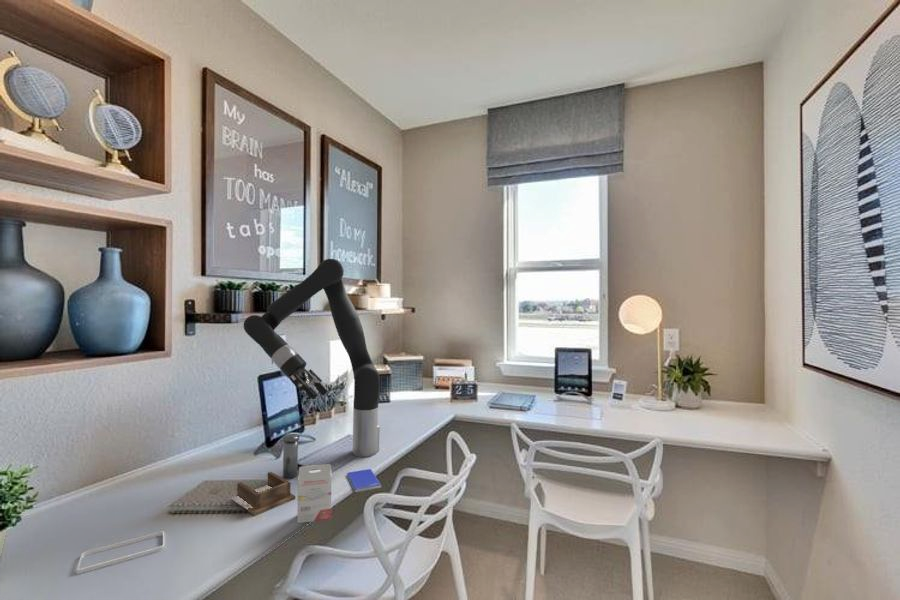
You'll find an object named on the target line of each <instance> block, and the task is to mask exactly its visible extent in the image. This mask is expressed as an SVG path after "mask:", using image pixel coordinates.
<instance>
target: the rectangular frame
mask: <svg viewBox="0 0 900 600" xmlns="http://www.w3.org/2000/svg"><path fill="white" fill-rule="evenodd" d="M160 536H162V545H160V546H156V547H153V548H150V549H147V550H142V551H139V552H135V553H132V554H129V555H125V556H121V557H118V558H114V559H111V560H108V561H103V562H99V563H96V564H93V565H89V566H85V567H82V568H80V567H81V564H82V563H81V562H82V561H83V559H84V557H86V556H89V555H92V554H97V553H101V552H104V551H108V550H111V549H115V548H116V549H117V548H119V547H122V546H127V545H130V544H134V543H137V542H141V541H144V540H148V539H153V538H156V537H160ZM165 539H166V538H165V531H158V532H155V533H151V534H147V535H143V536H140V537H139V536H138V537H136V538H135V537H134V538H132V539H127V540H125V541H121V542H120V541H119V542H116V543H113V544H109V545H105V546H100V547H97V548H93V549H90V550H87V551H84V552H82V553H81V554H80V557H79V561H78V564H77V567H76V574H77V575H80V574H79V573H81V574H83V572H85V573H87V572H86V571H88V572H90V571H89V570H92V571H94V569H95V570H98V569H97V568H99V569H101V568H100V567H102V568H104V567H103V566H106V567H108V566H107V565H109V566H112V565H111V564H113V565H116V564H119V562H120V563H123V562H126V560H127V561H129V560H132V558H134V557H137V556H140V555H143V554H147V553H151V552H154V553H157V552H161V551H164V549H165V545H166V544H165V543H166V541H165ZM115 563H116V564H115Z"/></svg>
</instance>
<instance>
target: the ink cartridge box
mask: <svg viewBox="0 0 900 600" xmlns="http://www.w3.org/2000/svg"><path fill="white" fill-rule="evenodd" d="M297 477H298V478H297V521H296V522H297V524H304V523H311V522H319V521H326V520H331V519H332V479H333V478H332V465H331V463H327V464H314V465H306V466H304V465H303V466H299V467H298V476H297Z"/></svg>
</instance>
